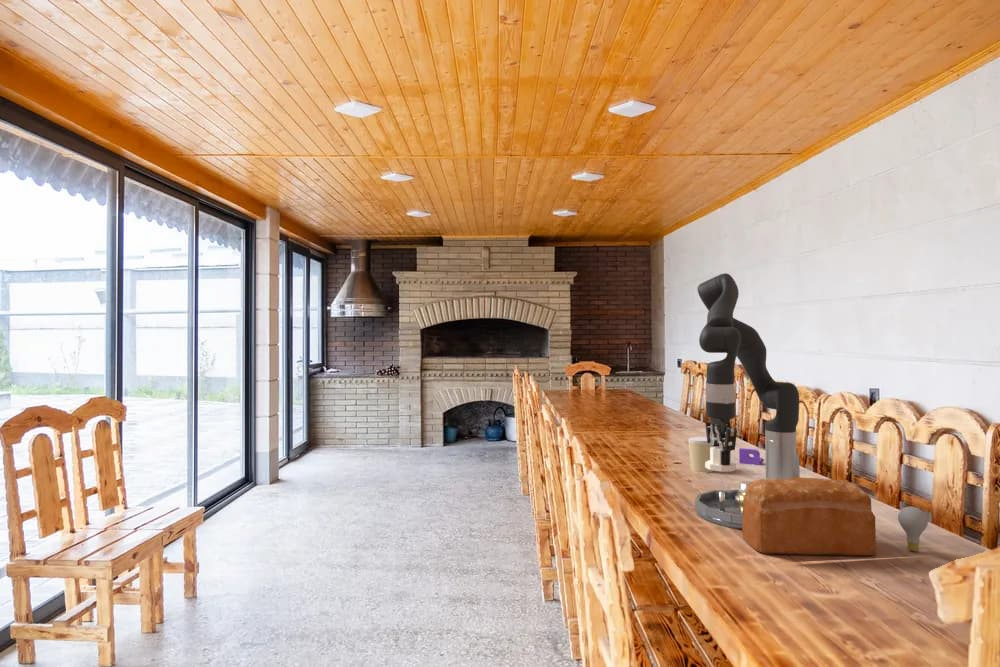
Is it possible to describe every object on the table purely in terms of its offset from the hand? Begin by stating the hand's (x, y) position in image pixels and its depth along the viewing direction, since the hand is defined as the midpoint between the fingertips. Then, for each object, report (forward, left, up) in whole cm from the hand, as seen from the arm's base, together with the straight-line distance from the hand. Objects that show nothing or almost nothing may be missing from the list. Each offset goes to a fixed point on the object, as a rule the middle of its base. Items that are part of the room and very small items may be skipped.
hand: (720, 462), depth 156 cm
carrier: (-8, 0, -15) cm, 16 cm away
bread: (-9, +24, -15) cm, 29 cm away
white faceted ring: (0, 0, -2) cm, 2 cm away
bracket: (-42, -61, -15) cm, 76 cm away
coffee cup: (-18, -51, -15) cm, 56 cm away
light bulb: (-31, +29, -15) cm, 45 cm away
